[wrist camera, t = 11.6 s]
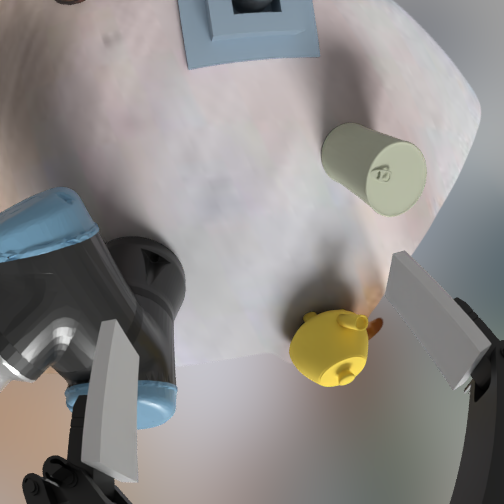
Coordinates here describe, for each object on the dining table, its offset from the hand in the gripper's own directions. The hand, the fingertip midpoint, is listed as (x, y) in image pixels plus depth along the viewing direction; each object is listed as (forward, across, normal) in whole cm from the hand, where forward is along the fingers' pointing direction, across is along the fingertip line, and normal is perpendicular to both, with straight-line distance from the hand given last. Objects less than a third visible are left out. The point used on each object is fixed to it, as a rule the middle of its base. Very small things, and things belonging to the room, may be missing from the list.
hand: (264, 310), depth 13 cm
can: (+27, +19, -2) cm, 33 cm away
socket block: (+27, +7, +20) cm, 34 cm away
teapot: (+27, +15, -34) cm, 46 cm away
